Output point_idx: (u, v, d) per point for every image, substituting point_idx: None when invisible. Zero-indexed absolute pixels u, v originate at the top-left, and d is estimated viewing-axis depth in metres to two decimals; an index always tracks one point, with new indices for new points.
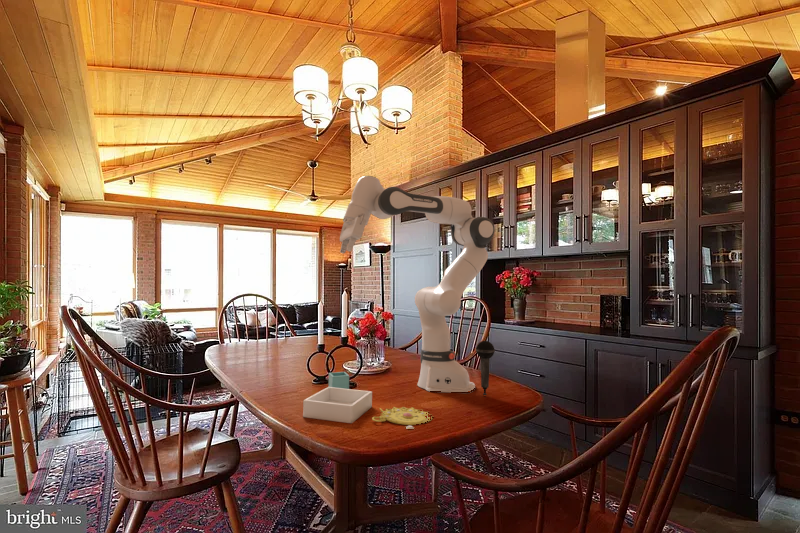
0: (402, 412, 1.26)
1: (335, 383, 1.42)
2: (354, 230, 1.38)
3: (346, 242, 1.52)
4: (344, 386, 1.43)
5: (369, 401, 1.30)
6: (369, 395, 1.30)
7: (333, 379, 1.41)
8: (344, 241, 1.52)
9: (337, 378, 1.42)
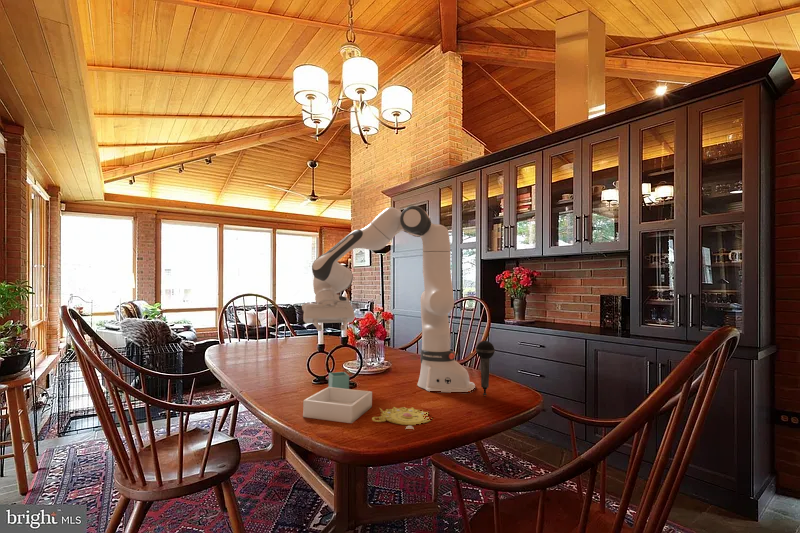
0: (402, 412, 1.26)
1: (335, 383, 1.42)
2: (303, 319, 1.58)
3: (342, 320, 1.61)
4: (344, 386, 1.43)
5: (369, 401, 1.30)
6: (369, 395, 1.30)
7: (333, 379, 1.41)
8: (342, 321, 1.62)
9: (337, 378, 1.42)
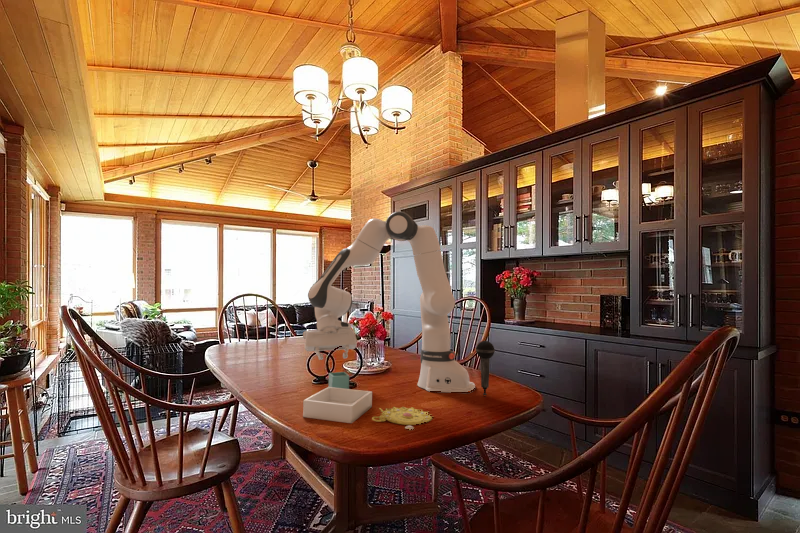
0: (402, 412, 1.26)
1: (335, 383, 1.42)
2: None
3: (345, 347, 1.58)
4: (344, 386, 1.43)
5: (369, 401, 1.30)
6: (369, 395, 1.30)
7: (333, 379, 1.41)
8: (344, 348, 1.59)
9: (337, 378, 1.42)
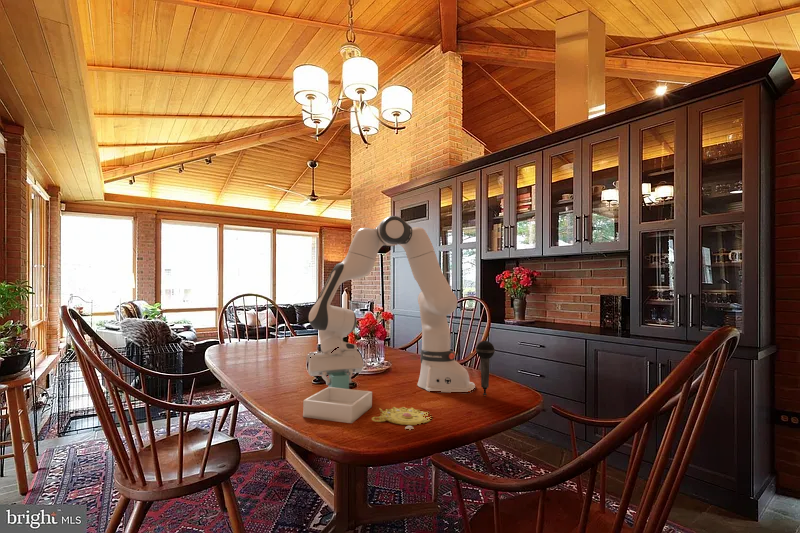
0: (402, 412, 1.26)
1: (335, 383, 1.42)
2: (308, 371, 1.46)
3: (348, 371, 1.49)
4: (344, 386, 1.43)
5: (369, 401, 1.30)
6: (369, 395, 1.30)
7: (333, 379, 1.41)
8: (347, 372, 1.49)
9: (337, 378, 1.42)
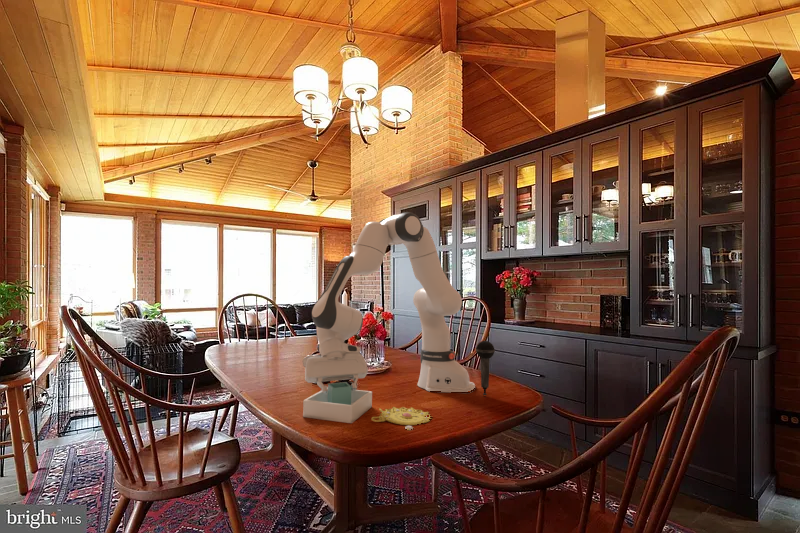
0: (401, 412, 1.26)
1: (335, 396, 1.24)
2: None
3: (353, 376, 1.32)
4: (346, 399, 1.25)
5: (369, 401, 1.30)
6: (369, 395, 1.30)
7: (333, 391, 1.24)
8: (352, 377, 1.32)
9: (338, 390, 1.24)
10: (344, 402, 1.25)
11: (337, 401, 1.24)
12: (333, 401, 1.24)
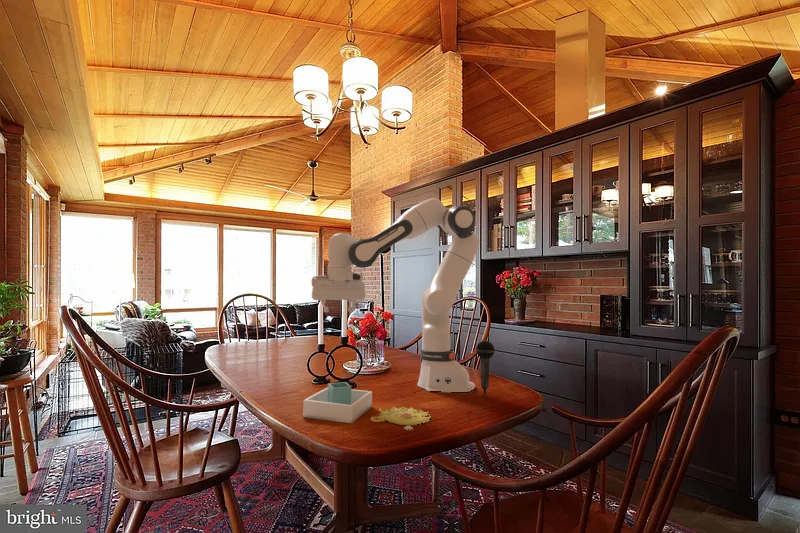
0: (401, 412, 1.26)
1: (335, 396, 1.24)
2: None
3: (352, 300, 1.55)
4: (346, 399, 1.25)
5: (369, 401, 1.30)
6: (369, 395, 1.30)
7: (333, 391, 1.24)
8: (351, 299, 1.56)
9: (338, 390, 1.24)
10: (344, 402, 1.25)
11: (337, 401, 1.24)
12: (333, 401, 1.24)
